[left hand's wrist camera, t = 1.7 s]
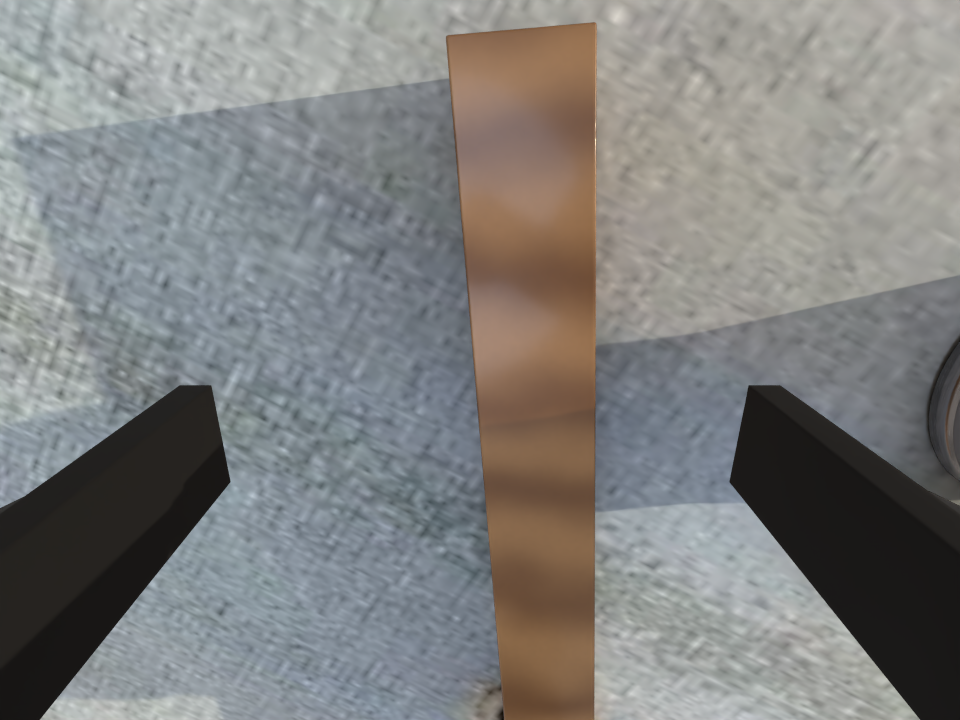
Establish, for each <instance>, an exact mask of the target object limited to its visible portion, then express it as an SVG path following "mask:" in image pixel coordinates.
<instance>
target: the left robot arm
mask: <svg viewBox="0 0 960 720" xmlns="http://www.w3.org/2000/svg"><path fill="white" fill-rule="evenodd" d="M929 431H930V438H931V442H932V445H933V448H934V451H935V453H936V455H937V457H938V459H939V460H940V462H941V463H942V465H943V466H944V467H945V469H946V470H947V471H948V472H949V473H950V474H951V475H952V476H954V477H955V478H956V479H957V480H959V481H960V342H959V343H958V345H957V346H956V348H955V349H954V350H953V352H952V354H951V355H950V357H949V358H948V360H947V361H946V363H945V365H944V367H943V369H942V371H941V373H940V375H939V378H938V380H937V383H936V385H935V388H934V392H933V395H932V399H931V404H930V411H929ZM229 483H230V477H229V472H228V467H227V462H226V457H225V452H224V447H223V442H222V437H221V432H220V427H219V422H218V417H217V412H216V407H215V402H214V397H213V392H212V387H211V385H180V386H178V387H177V388H176V389H174V390H173V391H171V392H170V393H169V394H167V395H166V396H164V397H163V398H162V399H160V400H159V401H157V402H156V403H155V404H153V405H152V406H150V407H149V408H148V409H146V410H145V411H143V412H142V413H141V414H139V415H138V416H136V417H135V418H134V419H132V420H131V421H129V422H128V423H127V424H125V425H124V426H122V427H121V428H120V429H118V430H117V431H115V432H114V433H113V434H111V435H110V436H108V437H107V438H106V439H104V440H103V441H101V442H100V443H99V444H97V445H96V446H94V447H93V448H92V449H90V450H89V451H87V452H86V453H85V454H83V455H82V456H80V457H79V458H78V459H76V460H75V461H73V462H72V463H71V464H69V465H68V466H66V467H65V468H64V469H62V470H61V471H60V472H58V473H57V474H55V475H54V476H53V477H51V478H50V479H48V480H47V481H46V482H44V483H43V484H41V485H40V486H39V487H37V488H36V489H34V490H33V491H32V492H30V493H29V494H27V495H26V496H24V497H22V498H20V499H18V500H16V501H14V502H12V503H10V504H8V505H6V506H4V507H2V508H0V720H40V719H41V717H42V716H43V715H44V714H45V712H46V711H47V710H48V709H49V707H50V706H51V705H52V704H53V703H54V701H55V700H56V699H57V698H58V696H59V695H60V694H61V693H62V691H63V690H64V689H65V688H66V686H67V685H68V684H69V683H70V681H71V680H72V679H73V678H74V676H75V675H76V674H77V673H78V671H79V670H80V669H81V668H82V666H83V665H84V664H85V663H86V661H87V660H88V659H89V658H90V656H91V655H92V654H93V653H94V651H95V650H96V649H97V648H98V646H99V645H100V644H101V643H102V641H103V640H104V639H105V638H106V636H107V635H108V634H109V633H110V631H111V630H112V629H113V628H114V626H115V625H116V624H117V623H118V621H119V620H120V619H121V618H122V617H123V615H124V614H125V613H126V612H127V610H128V609H129V608H130V607H131V605H132V604H133V603H134V602H135V600H136V599H137V598H138V597H139V595H140V594H141V593H142V592H143V590H144V589H145V588H146V587H147V585H148V584H149V583H150V582H151V580H152V579H153V578H154V577H155V575H156V574H157V573H158V572H159V570H160V569H161V568H162V567H163V565H164V564H165V563H166V562H167V560H168V559H169V558H170V557H171V555H172V554H173V553H174V552H175V550H176V549H177V548H178V547H179V545H180V544H181V543H182V542H183V540H184V539H185V538H186V537H187V535H188V534H189V533H190V532H191V530H192V529H193V528H194V527H195V526H196V524H197V523H198V522H199V521H200V519H201V518H202V517H203V516H204V514H205V513H206V512H207V511H208V509H209V508H210V507H211V506H212V504H213V503H214V502H215V501H216V499H217V498H218V497H219V496H220V494H221V493H222V492H223V491H224V489H225V488H226V487H227V486H228V484H229ZM730 483H731V484H732V486H733V487H734V488H735V489H736V491H737V492H738V493H739V494H740V496H741V497H742V498H743V499H744V501H745V502H746V503H747V504H748V506H749V507H750V508H751V509H752V511H753V512H754V513H755V514H756V516H757V517H758V518H759V519H760V521H761V522H762V523H763V524H764V526H765V527H766V528H767V529H768V530H769V532H770V533H771V534H772V535H773V537H774V538H775V539H776V540H777V542H778V543H779V544H780V545H781V547H782V548H783V549H784V550H785V552H786V553H787V554H788V555H789V557H790V558H791V559H792V560H793V562H794V563H795V564H796V565H797V567H798V568H799V569H800V570H801V572H802V573H803V574H804V575H805V577H806V578H807V579H808V580H809V582H810V583H811V584H812V585H813V587H814V588H815V589H816V590H817V592H818V593H819V594H820V595H821V597H822V598H823V599H824V600H825V602H826V603H827V604H828V605H829V607H830V608H831V609H832V610H833V612H834V613H835V614H836V615H837V617H838V618H839V619H840V620H841V621H842V623H843V624H844V625H845V626H846V628H847V629H848V630H849V631H850V633H851V634H852V635H853V636H854V638H855V639H856V640H857V641H858V643H859V644H860V645H861V646H862V648H863V649H864V650H865V651H866V653H867V654H868V655H869V656H870V658H871V659H872V660H873V661H874V663H875V664H876V665H877V666H878V668H879V669H880V670H881V671H882V673H883V674H884V675H885V676H886V678H887V679H888V680H889V681H890V683H891V684H892V685H893V686H894V688H895V689H896V690H897V691H898V693H899V694H900V695H901V696H902V698H903V699H904V700H905V701H906V703H907V704H908V705H909V706H910V708H911V709H912V710H913V711H914V712H915V714H916V715H917V716H918V717H919V719H920V720H960V506H959V505H957V504H955V503H953V502H951V501H949V500H946V499H944V498H942V497H940V496H938V495H936V494H934V493H932V492H930V491H927V490H926V489H924V488H923V487H921V486H920V485H919V484H917V483H916V482H914V481H913V480H912V479H910V478H909V477H907V476H906V475H905V474H903V473H902V472H900V471H899V470H898V469H896V468H895V467H894V466H892V465H891V464H889V463H888V462H887V461H885V460H884V459H882V458H881V457H880V456H878V455H877V454H875V453H874V452H873V451H871V450H870V449H868V448H867V447H866V446H864V445H863V444H861V443H860V442H859V441H857V440H856V439H854V438H853V437H852V436H850V435H849V434H847V433H846V432H845V431H843V430H842V429H840V428H839V427H838V426H836V425H835V424H833V423H832V422H831V421H829V420H828V419H826V418H825V417H824V416H822V415H821V414H819V413H818V412H817V411H815V410H814V409H812V408H811V407H810V406H808V405H807V404H805V403H804V402H803V401H801V400H800V399H798V398H797V397H796V396H794V395H793V394H791V393H790V392H789V391H787V390H786V389H784V388H783V387H782V386H780V385H749V387H748V392H747V397H746V402H745V407H744V412H743V417H742V422H741V427H740V432H739V437H738V442H737V447H736V452H735V457H734V462H733V467H732V472H731V477H730Z"/></svg>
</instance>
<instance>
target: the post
mask: <svg viewBox="0 0 960 720" xmlns="http://www.w3.org/2000/svg"><path fill="white" fill-rule="evenodd" d="M446 44H447V56H448V68H449V79H450V91H451V103H452V114H453V126H454V138H455V149H456V161H457V173H458V185H459V196H460V208H461V220H462V231H463V243H464V255H465V266H466V278H467V290H468V301H469V313H470V325H471V337H472V348H473V360H474V372H475V383H476V395H477V407H478V418H479V430H480V442H481V453H482V465H483V477H484V489H485V500H486V512H487V524H488V535H489V547H490V559H491V570H492V582H493V594H494V605H495V617H496V629H497V641H498V652H499V664H500V676H501V687H502V699H503V711H504V720H594V624H595V340H596V56H597V25H596V23H582V24H571V25H559V26H548V27H536V28H525V29H514V30H502V31H491V32H479V33H468V34H457V35H448V36H446Z"/></svg>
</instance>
